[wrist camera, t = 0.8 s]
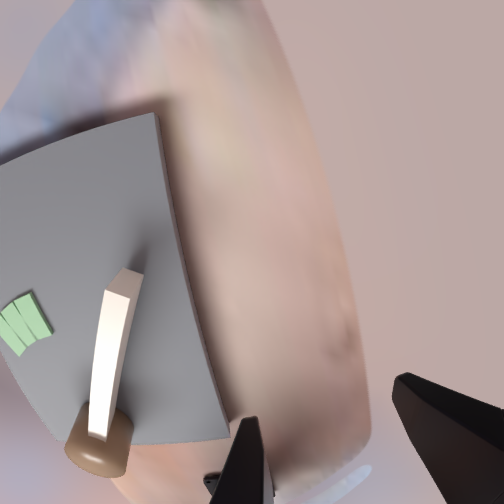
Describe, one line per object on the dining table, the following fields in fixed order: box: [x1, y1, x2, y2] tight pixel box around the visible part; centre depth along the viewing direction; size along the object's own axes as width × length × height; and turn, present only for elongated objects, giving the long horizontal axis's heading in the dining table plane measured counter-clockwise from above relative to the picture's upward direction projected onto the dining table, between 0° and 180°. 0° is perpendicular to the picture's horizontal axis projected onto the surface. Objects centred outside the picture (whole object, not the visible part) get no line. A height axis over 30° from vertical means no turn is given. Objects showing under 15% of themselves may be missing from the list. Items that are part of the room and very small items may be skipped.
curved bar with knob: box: [64, 268, 144, 478], centre depth 15 cm, size 15×4×4 cm, turn 159°
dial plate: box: [0, 112, 231, 445], centre depth 16 cm, size 22×16×2 cm
